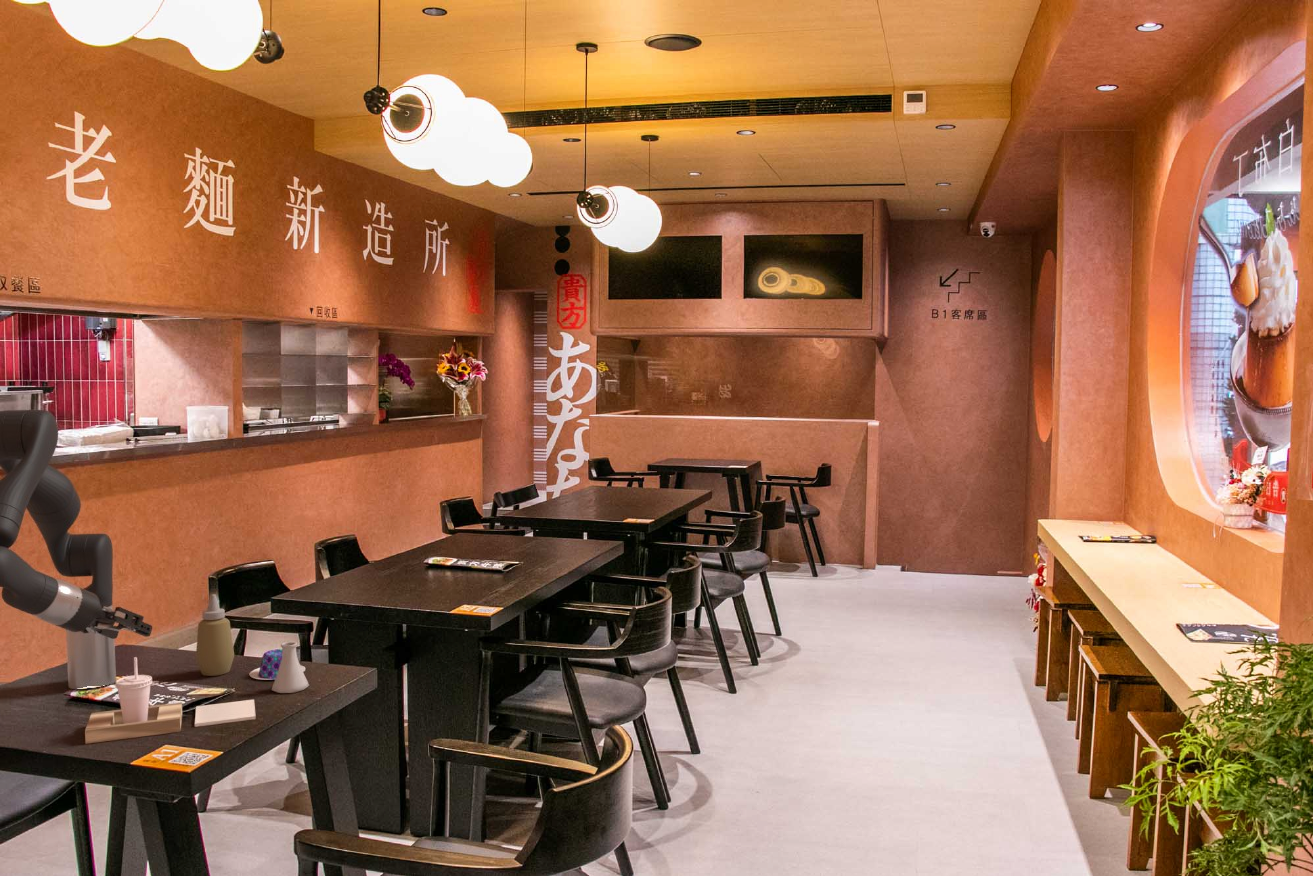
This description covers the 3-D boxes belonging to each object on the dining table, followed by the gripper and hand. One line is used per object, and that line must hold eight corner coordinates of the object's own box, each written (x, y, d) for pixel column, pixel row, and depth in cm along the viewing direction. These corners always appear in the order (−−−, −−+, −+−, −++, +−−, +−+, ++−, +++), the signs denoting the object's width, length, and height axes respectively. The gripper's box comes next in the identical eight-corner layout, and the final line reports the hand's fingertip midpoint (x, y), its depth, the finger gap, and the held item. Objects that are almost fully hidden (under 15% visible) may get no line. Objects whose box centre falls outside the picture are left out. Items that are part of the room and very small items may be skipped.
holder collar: (92, 725, 202) (91, 713, 202) (182, 714, 208) (181, 702, 208) (85, 743, 193) (84, 730, 192) (180, 731, 199) (179, 718, 199)
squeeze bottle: (225, 678, 232) (223, 599, 231) (189, 678, 232) (186, 599, 231) (240, 667, 240) (238, 590, 239) (206, 667, 240) (203, 590, 239)
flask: (265, 692, 222) (263, 646, 222) (289, 682, 229) (287, 637, 228) (292, 696, 220) (290, 649, 219) (315, 686, 226) (313, 641, 226)
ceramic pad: (196, 709, 211) (196, 706, 211) (254, 702, 216) (254, 699, 216) (194, 726, 201) (194, 723, 201) (255, 719, 205) (255, 716, 205)
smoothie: (139, 735, 197) (135, 663, 196) (109, 733, 198) (106, 661, 197) (161, 724, 203) (158, 653, 202) (132, 722, 204) (129, 652, 203)
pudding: (286, 684, 229) (286, 661, 228) (238, 681, 231) (237, 658, 231) (315, 668, 240) (315, 646, 240) (269, 665, 243) (268, 643, 242)
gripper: (99, 582, 186) (167, 612, 199) (42, 587, 191) (112, 616, 204) (85, 622, 182) (155, 650, 195) (27, 626, 187) (99, 653, 200)
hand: (133, 632), depth 200 cm, fingers open, 8 cm apart
